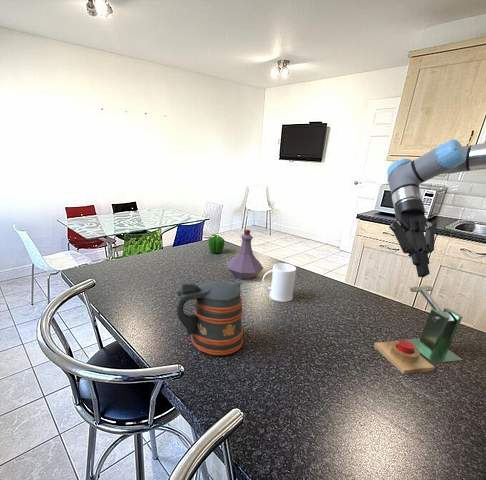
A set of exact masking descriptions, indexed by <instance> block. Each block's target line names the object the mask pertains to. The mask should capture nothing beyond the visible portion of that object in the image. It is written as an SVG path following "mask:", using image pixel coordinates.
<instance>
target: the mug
mask: <svg viewBox="0 0 486 480" xmlns="http://www.w3.org/2000/svg"><path fill="white" fill-rule="evenodd" d="M296 273H297V267H296V266H294V265H293V264H291V263H284V262H280V263H275V264H273V266H272V269H271V270H268V271H266V272H265V273H264V274H263V277H262V281H261V282H262V285H263V287H264V288H265V289H266V290H268V291H269V294H268V296H269V298H270V299H271V300H273V301H276V302H279V303H289V302H291V301H292V300H293V299H294V298H293V293H294V286H295V281H296V280H295V279H296ZM269 274H272V275H271V283H270V286H267V285H266V284H265V278H266V277H267V275H269Z"/></svg>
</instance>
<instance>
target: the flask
mask: <svg viewBox="0 0 486 480" xmlns="http://www.w3.org/2000/svg"><path fill="white" fill-rule="evenodd" d="M243 231H244V234H242V235H241V236H240V238H241V244H240V248H239V250H238V252H237V253H236V254H235V255H234V256H233V257H232V258H231V259H229V260H228V261H226V267H227V270H228V271H229V272H230V273H231V274H232V275H233V277H234V278H237V277H238V278H237V279H240V280H251V279H253V278H255V277H256V276H257V275H259V273H261V272H262V271H263V270H265V269H264V267H263V265H262V263H261V262H260V261H259V260H258V259H257V257H255V255H254V253H253V247H252V241H253V238H254V237H253V236H252V235H251V230H250V229H244V230H243ZM254 276H255V277H254Z"/></svg>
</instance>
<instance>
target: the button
mask: <svg viewBox="0 0 486 480" xmlns="http://www.w3.org/2000/svg"><path fill="white" fill-rule="evenodd" d="M398 341H399V342H398V345H397V349H398V350H400V351H401V352H404V353H407V354H412V353H413V351H414V348H415V346H414V344H412V343H411V342H409V341H405V339H401V340H398Z"/></svg>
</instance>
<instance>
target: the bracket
mask: <svg viewBox="0 0 486 480" xmlns="http://www.w3.org/2000/svg"><path fill="white" fill-rule="evenodd" d="M442 311H443V312H448V313H449V314H450V315H451V317H452V318H453V319H454V320H455V321H453V322H452V323H451V324H449V325H447V326H446V324H447V322H448V319H449V317H447V316H445V315H444V314H442V313H440V312H439V311H437V310H435V309H433V308H431V309H430V312H429V314H428V317H427V319H426V322H425V325H424V328H423V330H422V333H421V336H420V337H419V338H408V339H407V338H406V339H404V340H405V341H409V342H411V343H412V344H414V346H415V347H416V348H417V349H418V350H419V352H420V355H421V356H422V357H423V358H425V359H426V360H427V361H428V362H430V363H431V364H440V363H441V364H442V363H451V362H461V361H464V360H463V358H461V357H460V356H458V355H457V354H456V353H454V352H453V351H452V350H450V348H451V346H452V343H453V340H454V338H455V336H456V333H457V331H458V329H459V326H460V324H461V322H462V319H463V315H461V314H459V313H457V312H455V311H454V310H452V309H450V308H448V307H445V308H443V310H442Z"/></svg>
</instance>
